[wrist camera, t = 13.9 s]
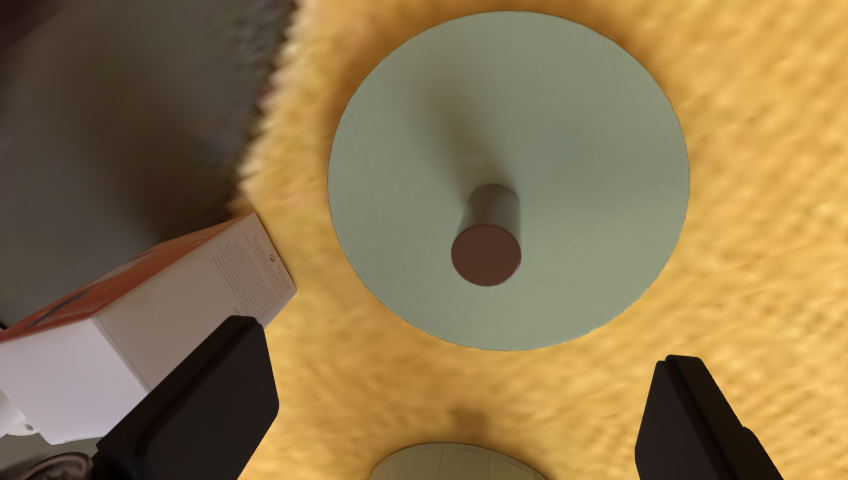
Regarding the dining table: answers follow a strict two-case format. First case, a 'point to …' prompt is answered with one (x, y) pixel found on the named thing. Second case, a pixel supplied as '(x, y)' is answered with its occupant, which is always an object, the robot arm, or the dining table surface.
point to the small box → (137, 327)
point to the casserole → (451, 464)
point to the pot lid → (508, 180)
